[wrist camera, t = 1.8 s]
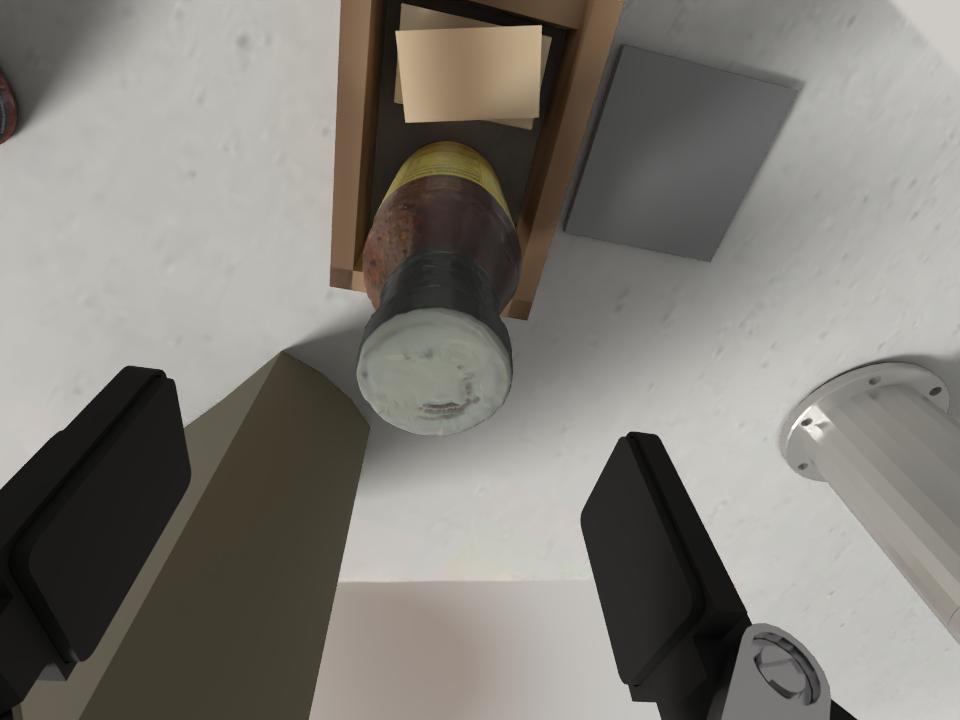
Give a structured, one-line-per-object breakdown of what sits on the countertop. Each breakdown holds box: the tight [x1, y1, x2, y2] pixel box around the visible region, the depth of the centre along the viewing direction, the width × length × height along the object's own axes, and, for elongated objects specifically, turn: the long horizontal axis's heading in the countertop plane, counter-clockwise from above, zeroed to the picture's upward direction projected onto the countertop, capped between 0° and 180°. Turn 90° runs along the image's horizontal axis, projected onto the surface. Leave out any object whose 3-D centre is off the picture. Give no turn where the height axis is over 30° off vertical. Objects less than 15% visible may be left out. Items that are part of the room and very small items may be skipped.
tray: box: [330, 0, 624, 320], centre depth 25 cm, size 11×15×5 cm
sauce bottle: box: [356, 141, 522, 436], centre depth 20 cm, size 6×6×20 cm
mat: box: [563, 44, 798, 262], centre depth 28 cm, size 10×10×1 cm
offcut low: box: [394, 3, 552, 130], centre depth 24 cm, size 7×4×3 cm, turn 79°
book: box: [20, 351, 370, 720], centre depth 29 cm, size 22×9×28 cm, turn 126°
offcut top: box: [395, 25, 542, 123], centre depth 22 cm, size 6×3×3 cm, turn 92°
